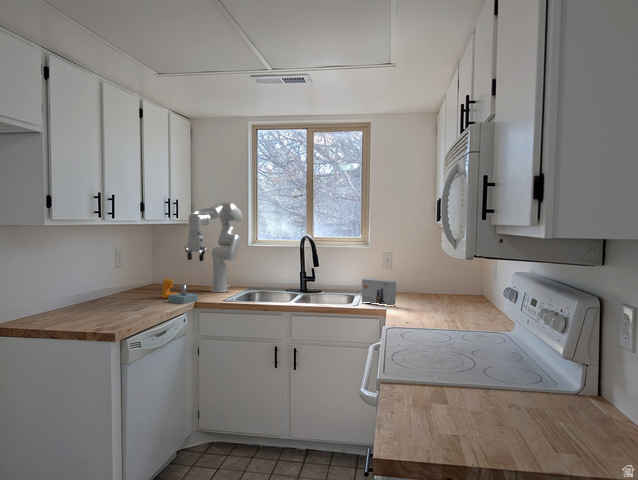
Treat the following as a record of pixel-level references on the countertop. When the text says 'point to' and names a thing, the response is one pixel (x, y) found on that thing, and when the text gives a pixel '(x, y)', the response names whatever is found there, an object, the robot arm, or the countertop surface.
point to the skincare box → (378, 291)
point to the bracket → (167, 288)
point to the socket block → (183, 298)
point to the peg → (183, 290)
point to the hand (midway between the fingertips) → (195, 260)
